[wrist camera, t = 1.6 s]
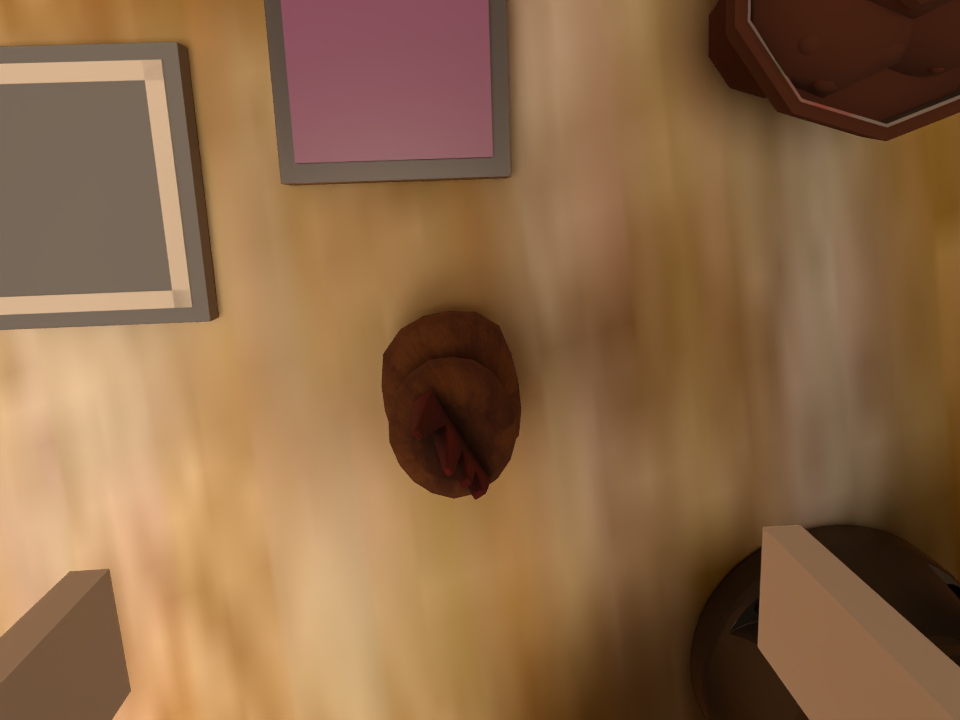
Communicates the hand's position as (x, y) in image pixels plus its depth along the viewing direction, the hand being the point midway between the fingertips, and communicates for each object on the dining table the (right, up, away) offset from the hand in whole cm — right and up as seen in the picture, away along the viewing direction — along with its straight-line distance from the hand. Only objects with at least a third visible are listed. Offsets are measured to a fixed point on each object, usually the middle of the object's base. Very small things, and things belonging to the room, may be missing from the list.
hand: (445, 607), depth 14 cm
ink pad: (-3, +18, +17) cm, 25 cm away
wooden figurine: (-1, +5, +20) cm, 21 cm away
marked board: (-18, +13, +18) cm, 28 cm away
